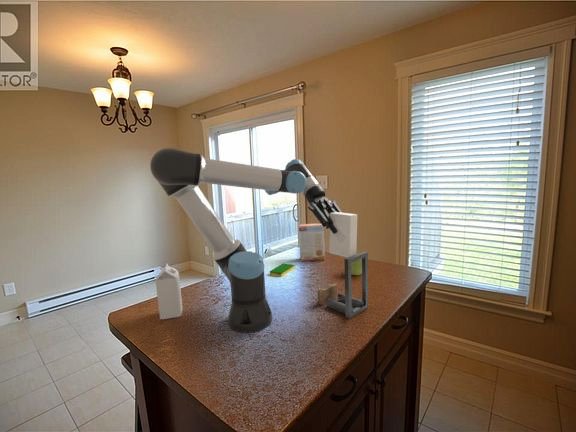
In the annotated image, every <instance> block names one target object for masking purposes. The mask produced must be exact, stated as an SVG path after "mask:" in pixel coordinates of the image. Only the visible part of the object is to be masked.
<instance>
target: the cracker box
mask: <svg viewBox="0 0 576 432" xmlns="http://www.w3.org/2000/svg"><path fill="white" fill-rule="evenodd" d="M298 232H299V235H298V236H299V238H298V239H299V255H300V262H305V261H306V262H309V261H310V262H311V261H315V262H318V261H325V260H326V259H325V235H324V234H325V232H324V227H323V226H322V224H321V223H301V224H299V225H298Z"/></svg>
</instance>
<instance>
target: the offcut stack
mask: <svg viewBox="0 0 576 432" xmlns="http://www.w3.org/2000/svg"><path fill="white" fill-rule="evenodd" d="M328 298H330V299H333V300H335V301H336V300H338V284H337V283H333V284H332V283H329V284H327V285H325V286H322V287H320V288H318V289H317V304H319V305H322V306H325V305H326V306H327V299H328Z"/></svg>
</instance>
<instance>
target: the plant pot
mask: <svg viewBox="0 0 576 432" xmlns="http://www.w3.org/2000/svg"><path fill="white" fill-rule="evenodd" d="M353 275H354V276H360V275H361V276H362V259H360V260H357V261H355V262H352V263H351V276H353Z"/></svg>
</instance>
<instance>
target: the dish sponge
mask: <svg viewBox="0 0 576 432" xmlns="http://www.w3.org/2000/svg"><path fill="white" fill-rule="evenodd" d="M294 269H295V264H290V263H281V264H280V265H278V266H276V267H273V269H270V270H269V275H270V276H274V277H280V278H282V277H284V276H285V275H287V274H288V273H289V272H291V271H292V270H294Z"/></svg>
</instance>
